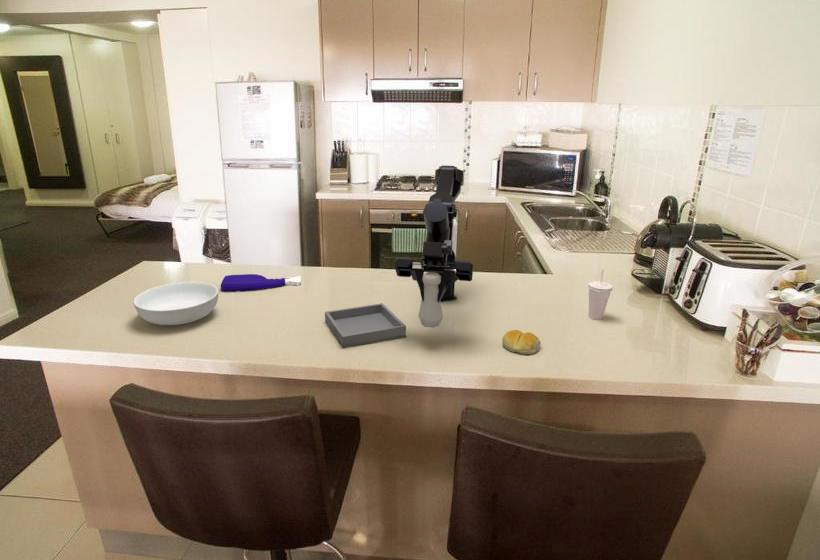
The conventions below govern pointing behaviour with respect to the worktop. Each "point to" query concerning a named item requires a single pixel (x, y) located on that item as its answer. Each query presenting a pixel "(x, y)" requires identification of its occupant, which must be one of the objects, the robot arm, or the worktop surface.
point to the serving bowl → (176, 302)
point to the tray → (364, 325)
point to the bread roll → (521, 342)
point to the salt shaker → (431, 301)
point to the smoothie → (598, 297)
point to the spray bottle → (255, 282)
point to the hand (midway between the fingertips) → (430, 301)
